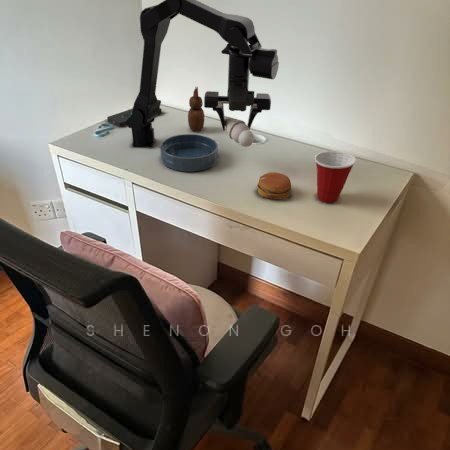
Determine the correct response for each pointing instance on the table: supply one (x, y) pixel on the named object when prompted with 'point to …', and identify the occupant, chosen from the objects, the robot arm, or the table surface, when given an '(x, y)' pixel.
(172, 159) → the bowl
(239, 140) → the ice cream cone
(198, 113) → the wooden figurine
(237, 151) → the table surface
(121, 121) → the smart home device
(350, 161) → the plastic cup
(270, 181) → the burger
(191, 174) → the table surface
